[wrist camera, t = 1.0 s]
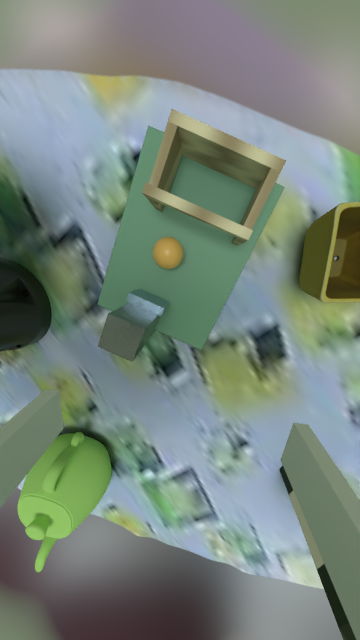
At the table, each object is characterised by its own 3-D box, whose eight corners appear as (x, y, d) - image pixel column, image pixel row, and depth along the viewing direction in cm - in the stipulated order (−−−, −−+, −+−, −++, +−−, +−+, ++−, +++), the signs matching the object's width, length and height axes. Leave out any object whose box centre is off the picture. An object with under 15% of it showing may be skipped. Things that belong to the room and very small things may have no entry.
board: (100, 303, 31) (97, 304, 30) (150, 131, 24) (148, 125, 23) (201, 347, 31) (201, 350, 30) (281, 190, 24) (284, 187, 23)
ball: (152, 262, 27) (144, 261, 23) (162, 234, 26) (155, 228, 22) (178, 273, 27) (174, 274, 23) (189, 245, 26) (187, 242, 22)
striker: (128, 319, 30) (93, 344, 20) (139, 288, 28) (106, 300, 19) (157, 331, 30) (136, 363, 20) (169, 302, 28) (153, 321, 19)
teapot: (110, 499, 45) (75, 590, 32) (50, 480, 45) (-7, 563, 33) (124, 428, 38) (85, 509, 26) (53, 408, 39) (-17, 477, 26)
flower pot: (291, 223, 25) (338, 201, 16) (365, 219, 24) (457, 194, 15) (283, 290, 27) (320, 302, 19) (349, 290, 26) (421, 302, 18)
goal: (156, 209, 26) (142, 192, 19) (178, 143, 23) (170, 100, 17) (237, 245, 26) (248, 240, 20) (267, 183, 23) (290, 154, 17)
